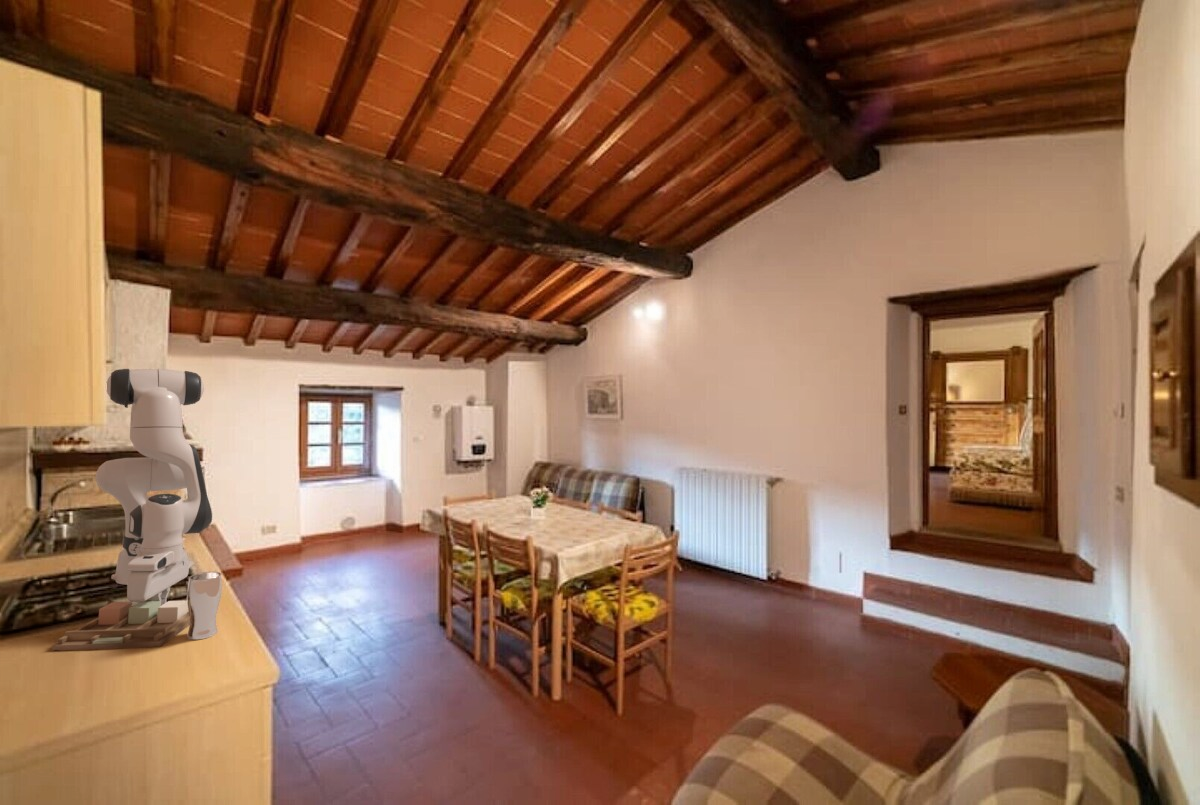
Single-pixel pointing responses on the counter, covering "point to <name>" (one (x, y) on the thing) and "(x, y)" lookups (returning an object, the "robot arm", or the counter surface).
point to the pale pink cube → (171, 611)
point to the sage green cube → (143, 612)
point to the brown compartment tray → (121, 635)
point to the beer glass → (203, 604)
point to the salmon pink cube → (113, 612)
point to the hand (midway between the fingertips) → (159, 605)
